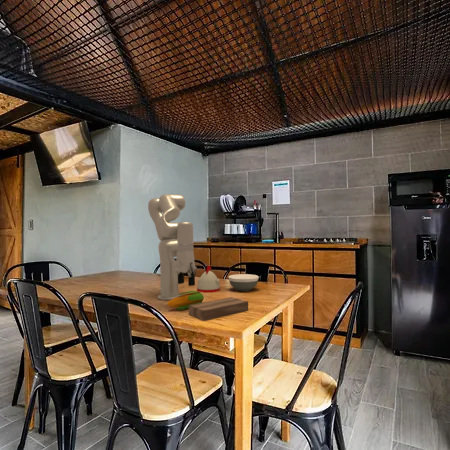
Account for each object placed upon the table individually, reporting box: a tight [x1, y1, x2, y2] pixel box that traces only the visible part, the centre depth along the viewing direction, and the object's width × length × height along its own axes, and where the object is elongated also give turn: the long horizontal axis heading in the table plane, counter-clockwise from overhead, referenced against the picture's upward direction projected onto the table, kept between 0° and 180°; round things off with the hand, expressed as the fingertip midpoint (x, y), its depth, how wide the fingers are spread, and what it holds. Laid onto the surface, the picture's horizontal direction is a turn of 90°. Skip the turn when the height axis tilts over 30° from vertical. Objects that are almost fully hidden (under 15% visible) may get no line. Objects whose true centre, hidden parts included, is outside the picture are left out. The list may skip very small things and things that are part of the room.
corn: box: [166, 290, 205, 311], centre depth 142 cm, size 7×8×20 cm
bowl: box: [228, 273, 260, 292], centre depth 184 cm, size 19×19×8 cm
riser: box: [188, 296, 249, 322], centre depth 134 cm, size 12×24×4 cm, turn 128°
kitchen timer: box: [196, 265, 221, 294], centre depth 184 cm, size 14×14×15 cm
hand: (186, 284), depth 142 cm, fingers open, 9 cm apart
